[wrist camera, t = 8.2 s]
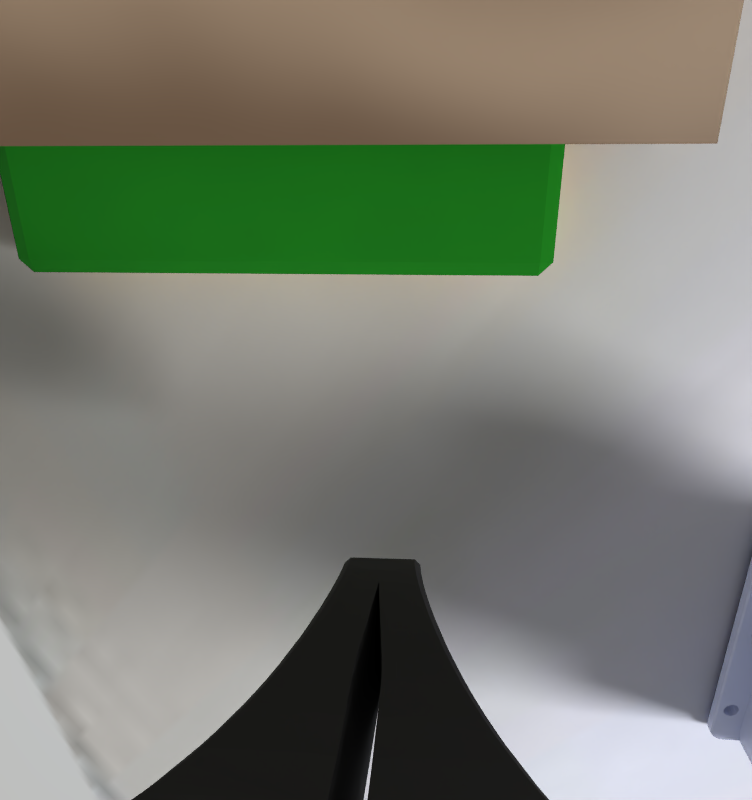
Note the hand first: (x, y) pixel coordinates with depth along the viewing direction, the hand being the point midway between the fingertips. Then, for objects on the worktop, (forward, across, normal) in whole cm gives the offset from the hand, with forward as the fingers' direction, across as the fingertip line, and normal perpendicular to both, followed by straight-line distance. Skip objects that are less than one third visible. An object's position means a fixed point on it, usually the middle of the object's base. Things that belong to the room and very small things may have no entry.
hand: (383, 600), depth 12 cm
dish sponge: (+9, +3, -8) cm, 13 cm away
